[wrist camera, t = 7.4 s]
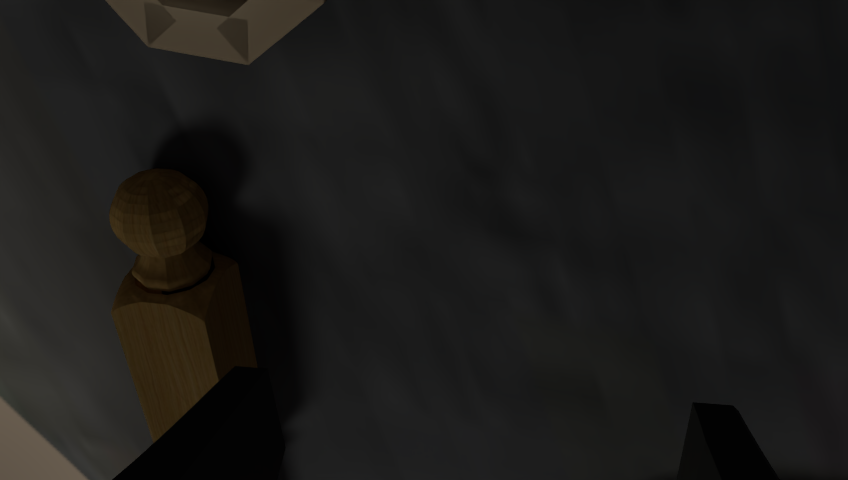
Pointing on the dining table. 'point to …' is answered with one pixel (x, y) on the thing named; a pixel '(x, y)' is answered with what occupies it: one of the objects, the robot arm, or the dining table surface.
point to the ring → (214, 24)
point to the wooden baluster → (175, 297)
